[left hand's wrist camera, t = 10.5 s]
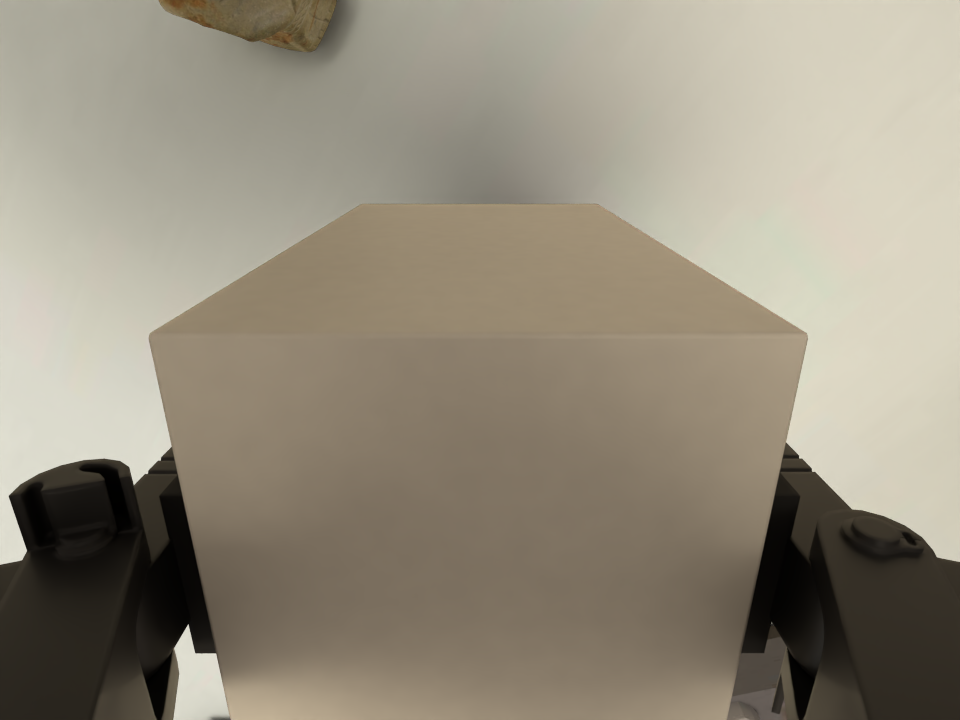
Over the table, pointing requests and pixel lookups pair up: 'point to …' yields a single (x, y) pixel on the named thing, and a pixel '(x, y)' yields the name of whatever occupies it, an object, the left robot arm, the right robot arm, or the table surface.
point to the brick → (478, 468)
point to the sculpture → (261, 19)
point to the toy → (758, 682)
